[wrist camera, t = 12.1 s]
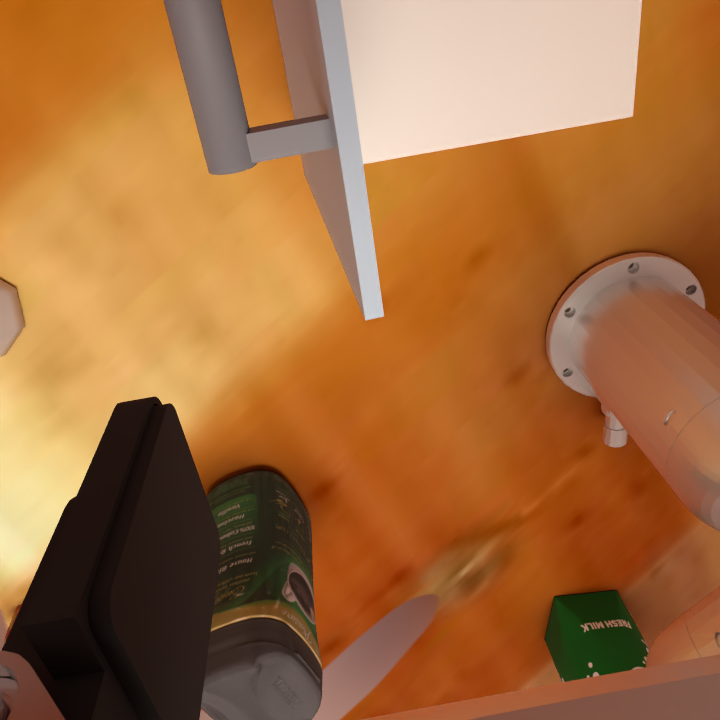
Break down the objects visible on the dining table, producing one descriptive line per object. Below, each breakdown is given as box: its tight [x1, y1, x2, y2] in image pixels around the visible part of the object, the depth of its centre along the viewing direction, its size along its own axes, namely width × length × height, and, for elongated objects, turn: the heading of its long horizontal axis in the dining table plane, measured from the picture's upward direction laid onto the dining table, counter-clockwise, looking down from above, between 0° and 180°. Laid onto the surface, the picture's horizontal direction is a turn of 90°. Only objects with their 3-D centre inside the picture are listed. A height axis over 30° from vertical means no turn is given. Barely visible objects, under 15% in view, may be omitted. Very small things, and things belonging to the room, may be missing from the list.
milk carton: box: [545, 590, 650, 682], centre depth 62 cm, size 9×9×20 cm
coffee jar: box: [201, 471, 322, 720], centre depth 49 cm, size 10×8×19 cm
